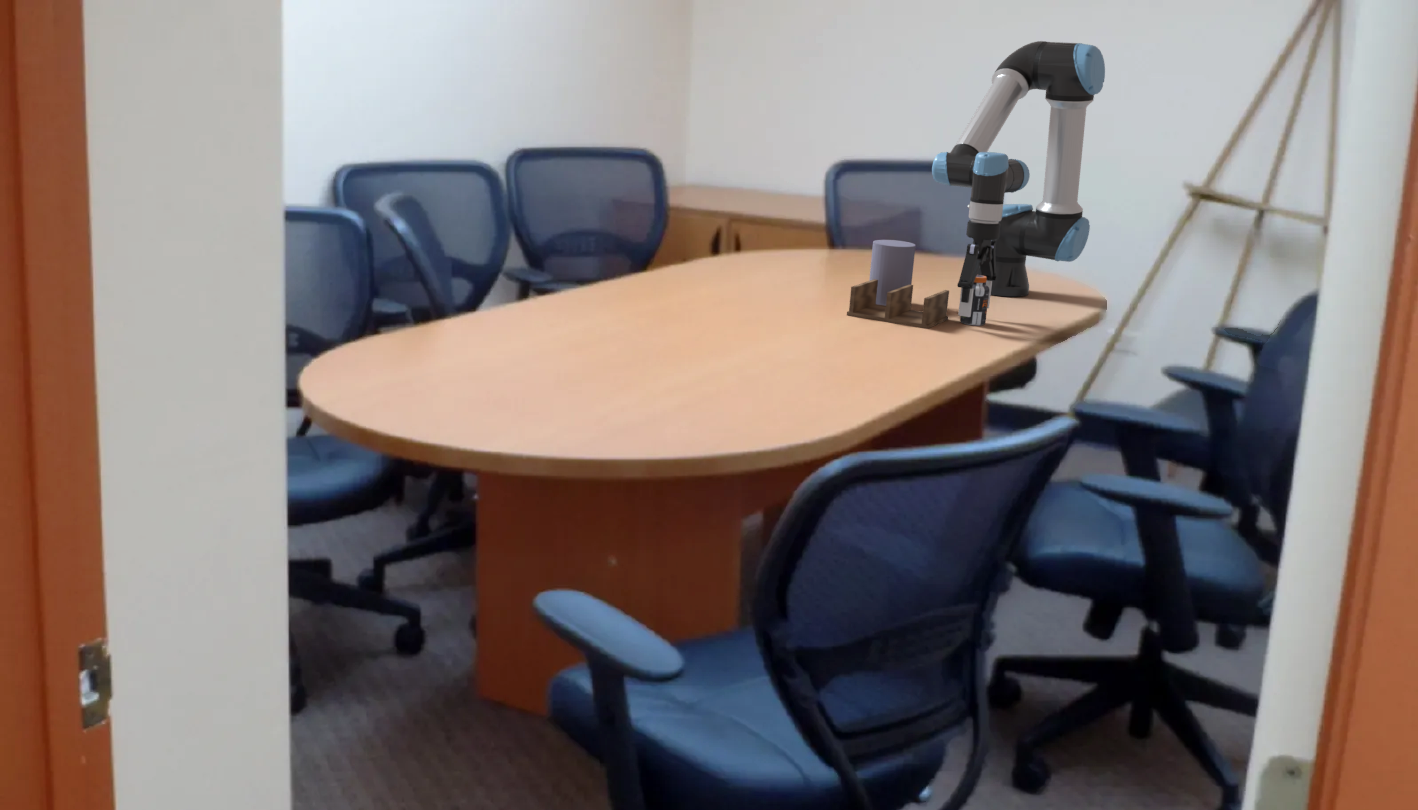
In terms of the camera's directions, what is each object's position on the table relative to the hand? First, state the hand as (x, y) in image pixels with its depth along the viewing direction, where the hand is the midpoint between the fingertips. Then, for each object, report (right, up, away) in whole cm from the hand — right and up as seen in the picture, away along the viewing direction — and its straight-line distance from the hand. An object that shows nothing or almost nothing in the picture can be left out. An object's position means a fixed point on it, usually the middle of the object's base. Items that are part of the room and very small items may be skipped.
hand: (973, 311), depth 316 cm
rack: (-17, -1, +2) cm, 18 cm away
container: (-18, +3, +18) cm, 25 cm away
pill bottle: (0, -3, +1) cm, 3 cm away
